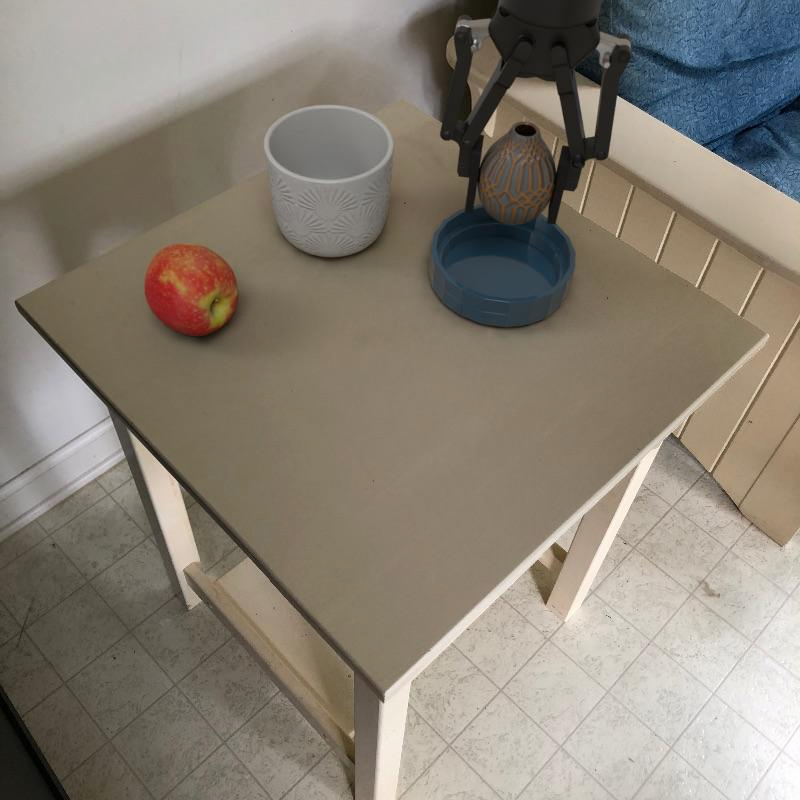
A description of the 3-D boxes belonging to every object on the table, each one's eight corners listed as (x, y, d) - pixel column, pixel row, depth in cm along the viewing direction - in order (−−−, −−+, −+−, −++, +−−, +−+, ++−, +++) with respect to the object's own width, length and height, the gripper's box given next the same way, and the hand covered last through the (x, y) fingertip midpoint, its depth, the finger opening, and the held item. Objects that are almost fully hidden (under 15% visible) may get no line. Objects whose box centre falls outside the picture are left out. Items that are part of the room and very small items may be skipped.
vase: (517, 179, 80) (532, 97, 73) (562, 220, 76) (583, 138, 69) (459, 202, 77) (469, 119, 70) (503, 245, 74) (518, 163, 67)
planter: (409, 251, 86) (415, 163, 77) (297, 283, 82) (290, 195, 73) (363, 181, 92) (363, 93, 84) (257, 208, 89) (246, 119, 80)
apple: (193, 364, 75) (178, 303, 69) (135, 318, 78) (115, 256, 72) (257, 317, 79) (248, 255, 73) (199, 275, 82) (186, 212, 76)
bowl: (564, 340, 79) (573, 311, 76) (419, 319, 80) (422, 290, 77) (569, 243, 87) (577, 213, 84) (438, 225, 88) (441, 195, 85)
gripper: (697, -57, 60) (618, 197, 78) (427, -87, 61) (411, 170, 79) (704, -7, 55) (618, 250, 74) (412, -41, 57) (399, 220, 75)
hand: (511, 208), depth 76 cm, fingers closed on vase, 7 cm apart
